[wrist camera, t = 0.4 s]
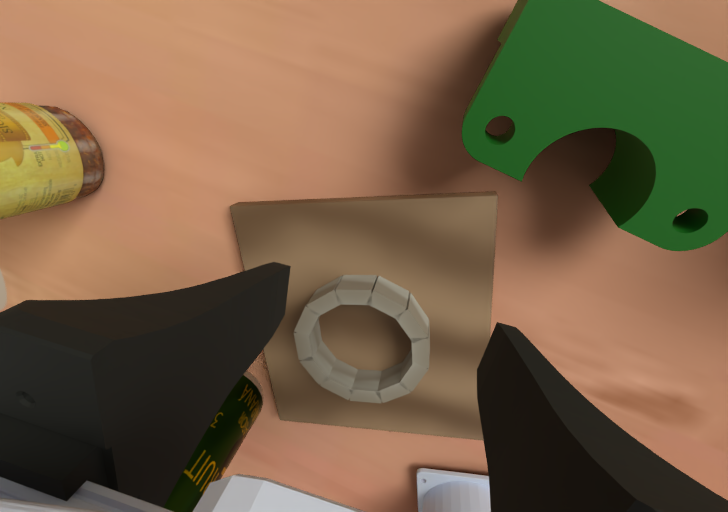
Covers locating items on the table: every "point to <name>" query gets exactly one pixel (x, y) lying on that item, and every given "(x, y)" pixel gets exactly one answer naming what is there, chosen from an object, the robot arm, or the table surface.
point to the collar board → (366, 333)
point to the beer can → (218, 444)
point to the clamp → (613, 114)
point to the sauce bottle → (44, 158)
